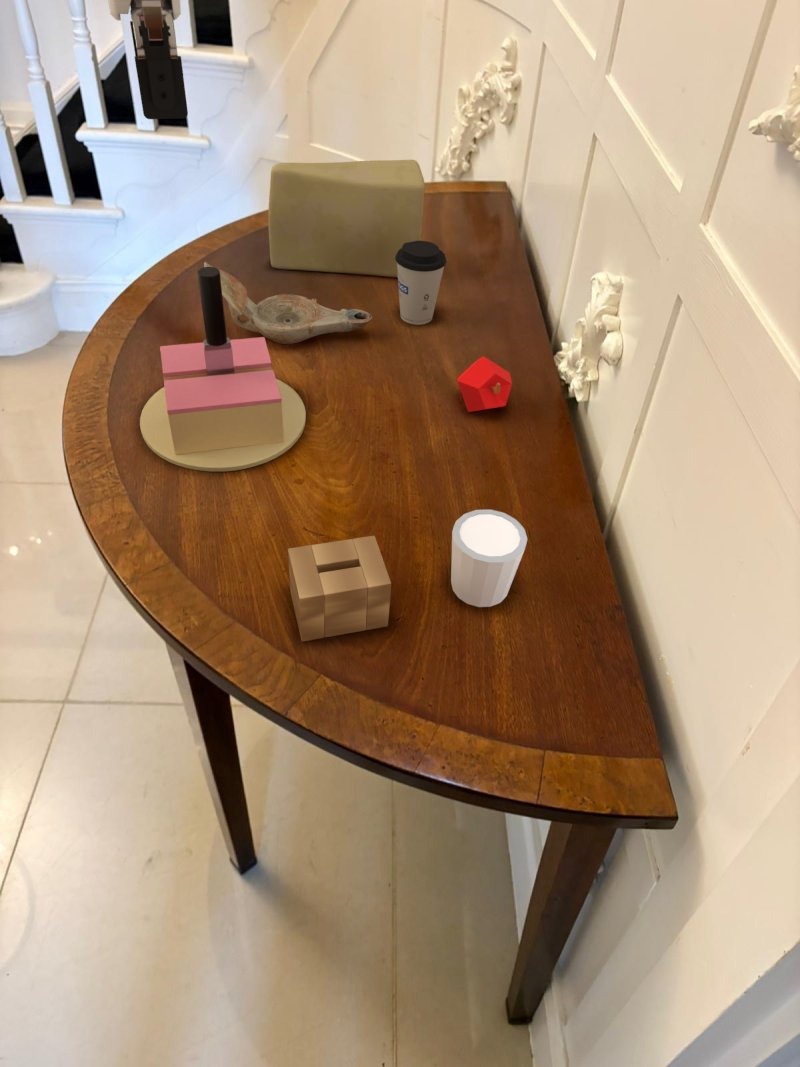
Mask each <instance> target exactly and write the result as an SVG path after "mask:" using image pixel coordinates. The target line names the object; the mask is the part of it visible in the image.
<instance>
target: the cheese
mask: <svg viewBox="0 0 800 1067" xmlns="http://www.w3.org/2000/svg"><path fill="white" fill-rule="evenodd" d="M424 178H425V177H424V176H423V173H422V169H421V167H420V164H419V162H418V161H417V160H415V159H393V160H392V159H391V160H389V159H387V160H386V159H385V160H382V159H381V160H356V161H341V162H336V161H335V162H281V163H276V164H273V166H272V167H271V170H270V182H269V195H268V197H269V198H268V215H267V216H268V218H267V219H268V222H267V224H268V239H269V240H268V242H269V258H270V260H269V261H270V265H271V267H272V268H274V269H276V270H277V269H279V270H291V271H292V270H293V271H306V272H307V271H308V272H323V273H337V274H339V273H340V274H350V275H351V274H354V275H365V276H376V277H377V276H378V277H387V278H396V279H398V269H397V262H396V260H395V256H396V254H397V252H398V251H399V249H401V248H402V246H403V245H404V243H407V242H412V241H422V231H423V216H424V204H425V191H426V183H425V179H424Z"/></svg>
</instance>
